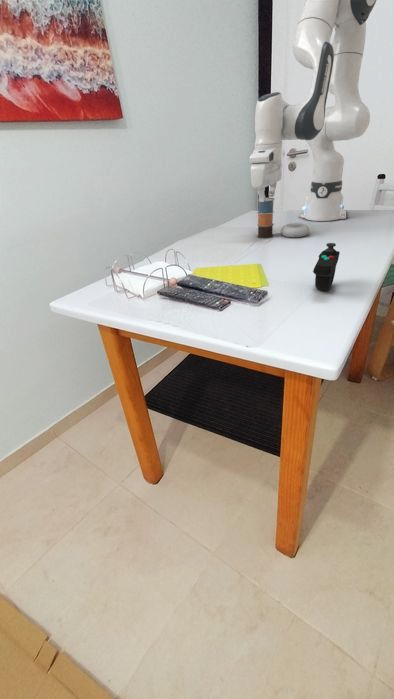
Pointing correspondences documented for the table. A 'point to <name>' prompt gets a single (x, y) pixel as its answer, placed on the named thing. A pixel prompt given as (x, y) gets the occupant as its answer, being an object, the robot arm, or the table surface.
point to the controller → (326, 267)
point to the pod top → (266, 206)
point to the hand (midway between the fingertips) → (267, 198)
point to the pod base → (265, 231)
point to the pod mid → (265, 219)
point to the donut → (295, 230)
